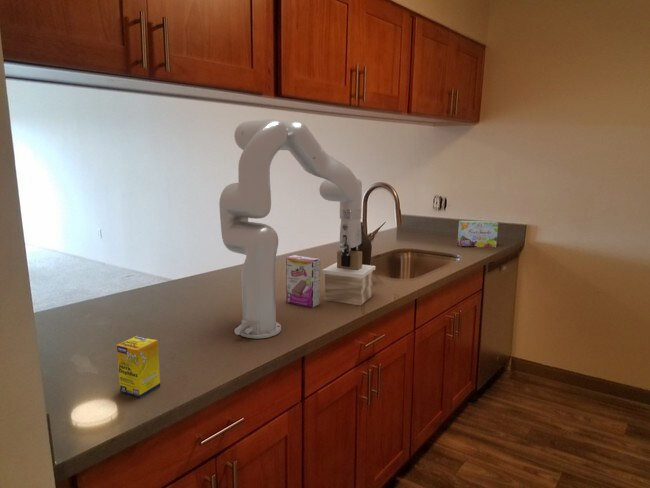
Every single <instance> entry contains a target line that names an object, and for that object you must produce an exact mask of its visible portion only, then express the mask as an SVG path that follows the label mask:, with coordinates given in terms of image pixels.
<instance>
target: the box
mask: <svg viewBox="0 0 650 488" xmlns="http://www.w3.org/2000/svg"><path fill="white" fill-rule="evenodd" d="M373 272H374V271H372V272H371V273H369V274H368V275H366V276H365V277H364V278H357V277H349V276H340V275H332V274H324V301H328V302H334V303H339V304H340V303H341V304H347V305H355V306H361V305H363V304H364V303H366V302H367V301H368V300H369V299H370V298H371V297H373V274H374V273H373Z"/></svg>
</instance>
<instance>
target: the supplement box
mask: <svg viewBox="0 0 650 488" xmlns="http://www.w3.org/2000/svg"><path fill="white" fill-rule="evenodd" d="M115 347H116V357H117V368H118V381H119V392H120V393H122V394H127V395H130V396H133V397H136V398H139V399H142V398H144V397H145V396H146V395H148V394H149V393H152V391H154V390H156V389H158V388H159V387H161V374H160V357H159V340H157V339H151V338H148V337H143V336H140V335H136V336H133V337H131V338H129V339H127V340H123V341H122V342H120V343H118V344H116V345H115Z"/></svg>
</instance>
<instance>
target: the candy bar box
mask: <svg viewBox="0 0 650 488" xmlns="http://www.w3.org/2000/svg"><path fill="white" fill-rule="evenodd" d="M285 259H286V260H285V264H286V265H285V267H286V270H285V271H286V274H285V275H286V276H285V277H286V280H285V281H286V285H285V287H286V301H285V302H286V303H289V304H293V305H297V306H302V307H306V308H311V309H313V308H315V307H317V306H319V305H320V303H321V295H320V294H321V259H320V258H317V257H316V258H315V257H309V256H303V255H296V254H292V255H290V256H286V258H285Z"/></svg>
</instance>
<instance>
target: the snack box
mask: <svg viewBox="0 0 650 488" xmlns="http://www.w3.org/2000/svg"><path fill="white" fill-rule="evenodd" d="M457 229H458V231H457V232H458V233H457V242H456V243H457V244H456V245H457V246H458V245H459V246H477V247H476V248H493V247H495V248H497V242H498V230H499V222H498V221H495V220H458V228H457ZM459 246H458V247H459Z"/></svg>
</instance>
